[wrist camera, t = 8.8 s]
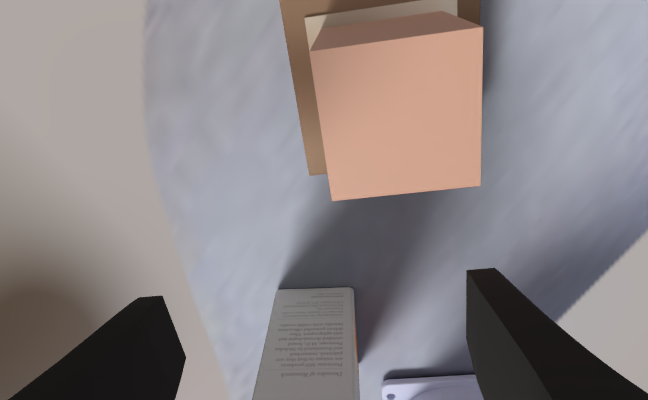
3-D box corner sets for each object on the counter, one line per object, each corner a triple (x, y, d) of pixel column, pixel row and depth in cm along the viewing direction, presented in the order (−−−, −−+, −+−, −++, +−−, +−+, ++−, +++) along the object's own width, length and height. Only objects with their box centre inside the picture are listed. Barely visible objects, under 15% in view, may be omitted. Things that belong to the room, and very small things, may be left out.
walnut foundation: (463, 135, 19) (478, 157, 17) (313, 153, 20) (309, 176, 17) (462, -34, 16) (481, -35, 14) (288, -7, 17) (278, -3, 14)
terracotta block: (444, 127, 16) (480, 185, 12) (336, 140, 17) (331, 201, 12) (442, 10, 14) (483, 26, 10) (321, 28, 15) (309, 51, 10)
